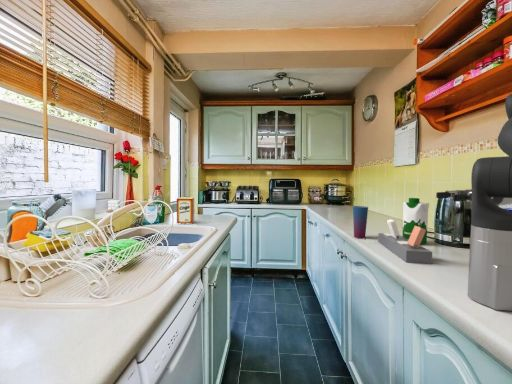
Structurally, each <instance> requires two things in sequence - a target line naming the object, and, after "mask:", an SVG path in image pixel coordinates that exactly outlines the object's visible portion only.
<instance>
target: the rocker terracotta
mask: <svg viewBox="0 0 512 384" xmlns="http://www.w3.org/2000/svg"><path fill="white" fill-rule="evenodd" d="M425 232H426V230H425V229H423V228H420V227H417V226H415V227H414V229H413V231H412V233H411V236H410V238H409V240H408V242H407V243H408V244H409V245H411V246H413V247H415V248H418V247H419V245H420V243H421V241H422V238H423V236H424V234H425ZM420 246H421V245H420Z"/></svg>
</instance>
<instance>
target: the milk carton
mask: <svg viewBox="0 0 512 384" xmlns="http://www.w3.org/2000/svg"><path fill="white" fill-rule="evenodd" d="M429 207H430V203H429V202H420V198H417V197H409V198H408V201H405V202H402V210H403V212H402V214H403V215H402V236H403V237H405V238H406V239H408V240H409V238H410V236H411V233H412V231H413V229H414V227H415V226H417V227H420V228H423V229H425V230H426V232H425V234H424V236H423V238H422V241H421V243H420V246H422V245H424V244H427V240H428V239H427V238H428V226H429V223H428V220H429Z"/></svg>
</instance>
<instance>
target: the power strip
mask: <svg viewBox="0 0 512 384" xmlns="http://www.w3.org/2000/svg"><path fill="white" fill-rule="evenodd" d="M377 234H378V237H377V239H378V240H377V242H378V244H380V245H381V246H383V247H384V248H385V249H387V250H388V251H390V252H391V253H392V254H394V255H395V256H397V257H398V258H399V259H401V260H402V261H403V262H404V263H408V264H410V263H411V264H428V265H429V264H431V265H432V264H433V251H431V250H429V248H426V247H424V246H422V245H419V247H418V248H415V247H413V246H411V245H409V244H408V243H407V242H408V239H406V238H405V237H403V235H402V234H400V238H397V239H396V238H394V237H392V235H391V232H390V233H388V232H387V233H381V232H379V233H377Z"/></svg>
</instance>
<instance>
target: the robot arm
mask: <svg viewBox="0 0 512 384" xmlns="http://www.w3.org/2000/svg"><path fill="white" fill-rule="evenodd" d="M504 104H505V107H504V108H505V114H506V117H507V119H508V120H506V122H505V123H504V124H503V126H502V127H501V129H500V132H499V134H498V136H497V145H498V147H499V149H500V150H501V151H502V153H504V154H506V155H507V156H492V157H491V156H490V157H488V156H487V157H480V158H477V159H476V160H475V161H474V163H473V166H472V169H471V178H470V180H471V181H470V182H471V188H468V189H456V190H445V191H437V192H436V197H435V198H436V199H452V202H468V203H469V202H470V203H471V222H470V238H469V239H470V240H469V261H468V274H467V275H468V277H467V279H468V280H467V296H468V297H469V299H471V300H472V301H474V302H477V303H479V304H480V305H484V306H487V307H489V308H491V309H493V310H498V311H510V312H511V311H512V211H509V210H507V209H504V208H502V207H500V206H507V205H512V93H510V94H508V96H506V99H505V103H504Z"/></svg>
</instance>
